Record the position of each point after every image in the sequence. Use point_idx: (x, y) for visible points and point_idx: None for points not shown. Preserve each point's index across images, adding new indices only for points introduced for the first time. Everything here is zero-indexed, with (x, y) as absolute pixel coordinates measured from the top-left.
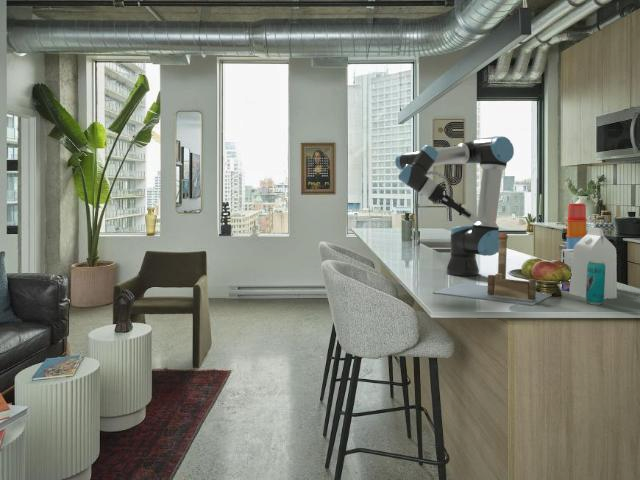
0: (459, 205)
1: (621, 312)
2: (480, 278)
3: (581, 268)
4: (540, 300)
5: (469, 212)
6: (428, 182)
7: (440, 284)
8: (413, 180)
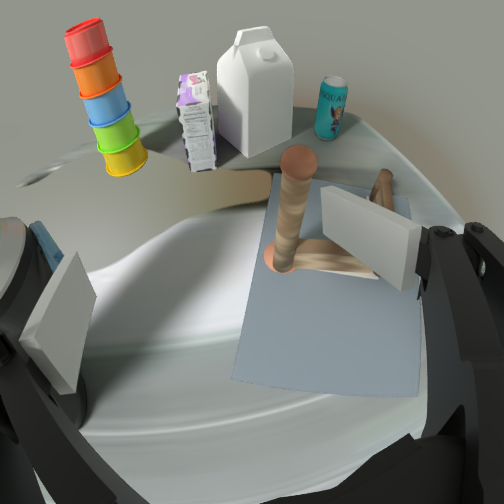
0: (22, 363)
1: (363, 121)
2: (108, 343)
3: (273, 105)
4: (366, 189)
5: (384, 213)
6: None
7: (273, 434)
8: None
